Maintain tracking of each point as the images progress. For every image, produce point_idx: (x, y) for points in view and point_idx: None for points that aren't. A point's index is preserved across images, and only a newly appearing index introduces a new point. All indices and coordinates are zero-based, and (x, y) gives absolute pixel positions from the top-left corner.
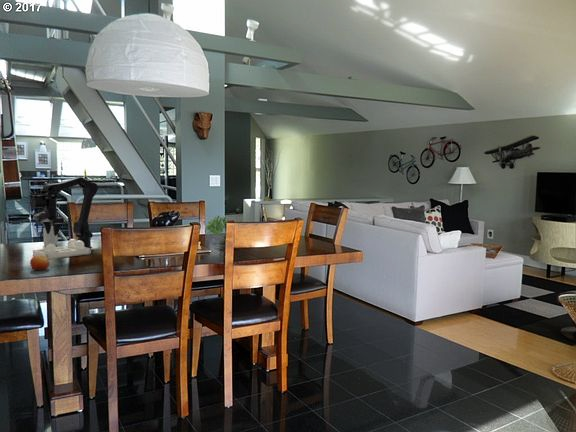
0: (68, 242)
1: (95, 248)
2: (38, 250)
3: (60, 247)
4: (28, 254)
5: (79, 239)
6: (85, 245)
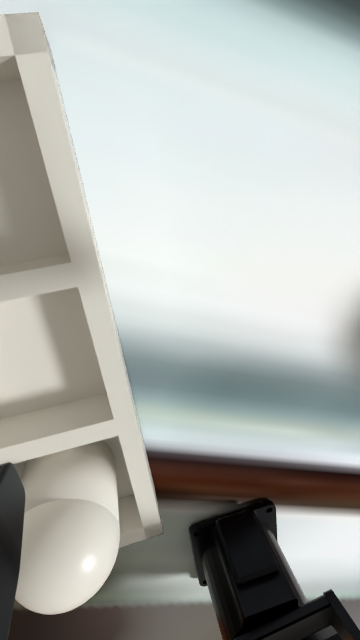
0: (45, 520)
1: (154, 594)
2: (30, 110)
3: (109, 399)
4: (172, 27)
5: (256, 592)
6: (204, 568)
